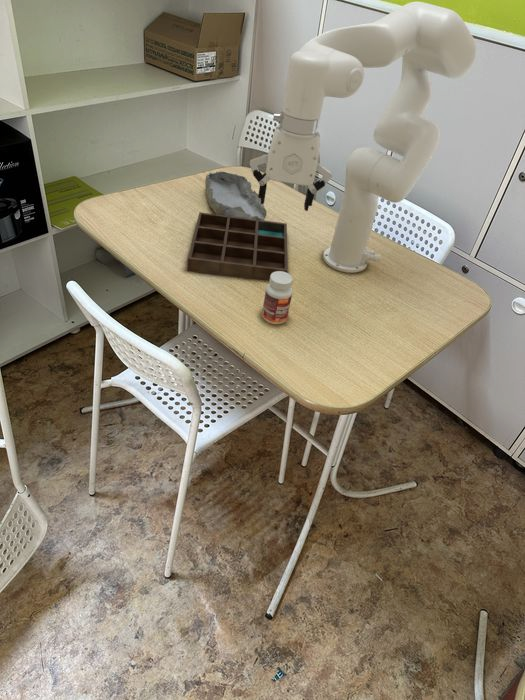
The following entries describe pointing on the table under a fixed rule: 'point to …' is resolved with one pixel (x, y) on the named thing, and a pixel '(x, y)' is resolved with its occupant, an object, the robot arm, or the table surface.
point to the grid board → (238, 247)
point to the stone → (233, 196)
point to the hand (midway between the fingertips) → (284, 204)
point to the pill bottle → (277, 298)
